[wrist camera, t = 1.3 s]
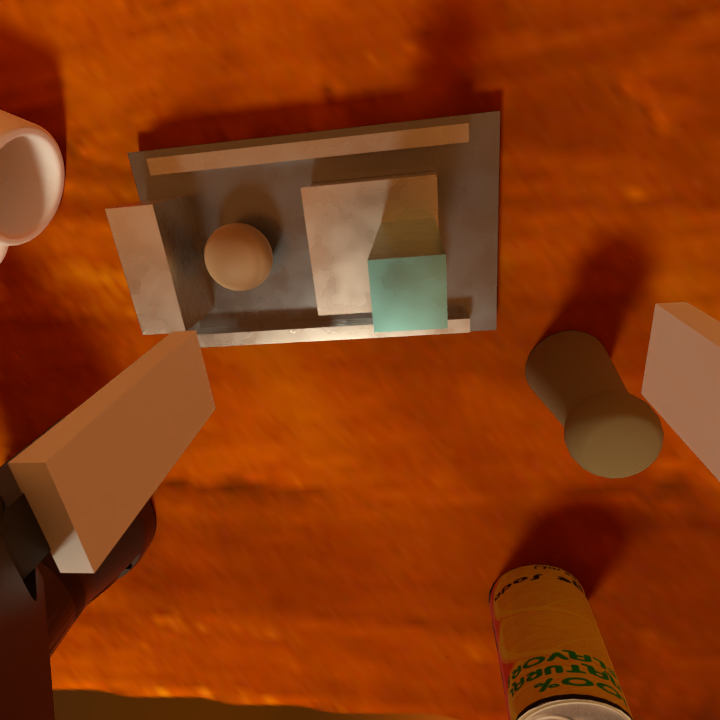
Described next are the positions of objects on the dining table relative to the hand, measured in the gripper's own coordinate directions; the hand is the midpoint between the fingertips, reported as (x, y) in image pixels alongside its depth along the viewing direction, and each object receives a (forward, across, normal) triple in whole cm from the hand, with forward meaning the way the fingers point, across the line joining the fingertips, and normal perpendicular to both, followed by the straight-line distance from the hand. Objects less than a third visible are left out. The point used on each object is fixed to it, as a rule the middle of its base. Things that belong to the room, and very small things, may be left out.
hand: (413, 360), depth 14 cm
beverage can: (+22, +10, -36) cm, 43 cm away
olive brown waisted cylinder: (+22, +11, -11) cm, 27 cm away
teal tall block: (+20, -2, 0) cm, 20 cm away
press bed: (+22, -6, 0) cm, 22 cm away
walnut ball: (+18, -12, 0) cm, 21 cm away
